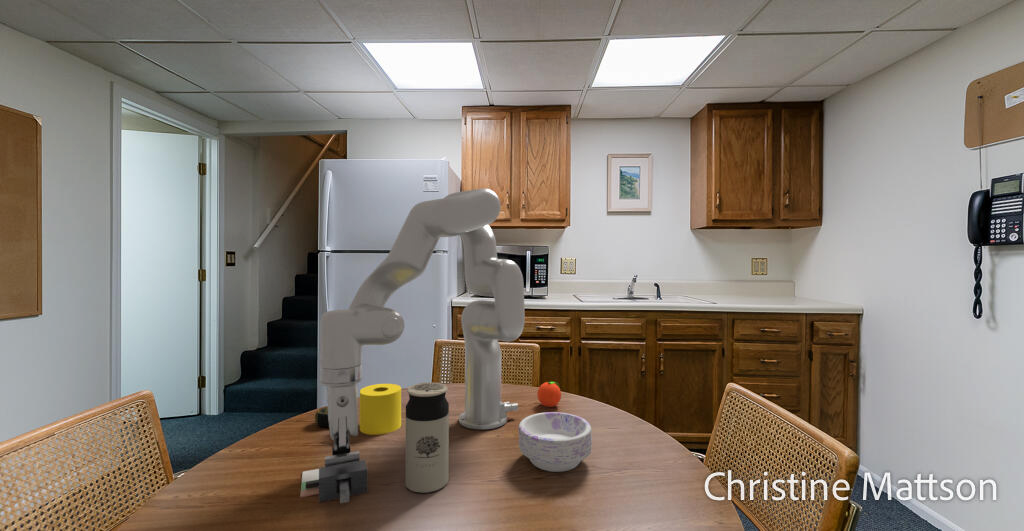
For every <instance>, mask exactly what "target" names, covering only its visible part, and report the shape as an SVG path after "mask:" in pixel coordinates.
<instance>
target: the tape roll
mask: <svg viewBox="0 0 1024 531" xmlns="http://www.w3.org/2000/svg"><path fill="white" fill-rule="evenodd" d="M401 426H402V386H400V385H398V384H394V383H375V384H371V385H366V386H365V387H363V388H361V389H360V390H359V431H360V432H361V433H362V434H366V435H370V436H373V435H385V434H389V433H392V432H395V431H397V430H399V429H400V428H401Z"/></svg>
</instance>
